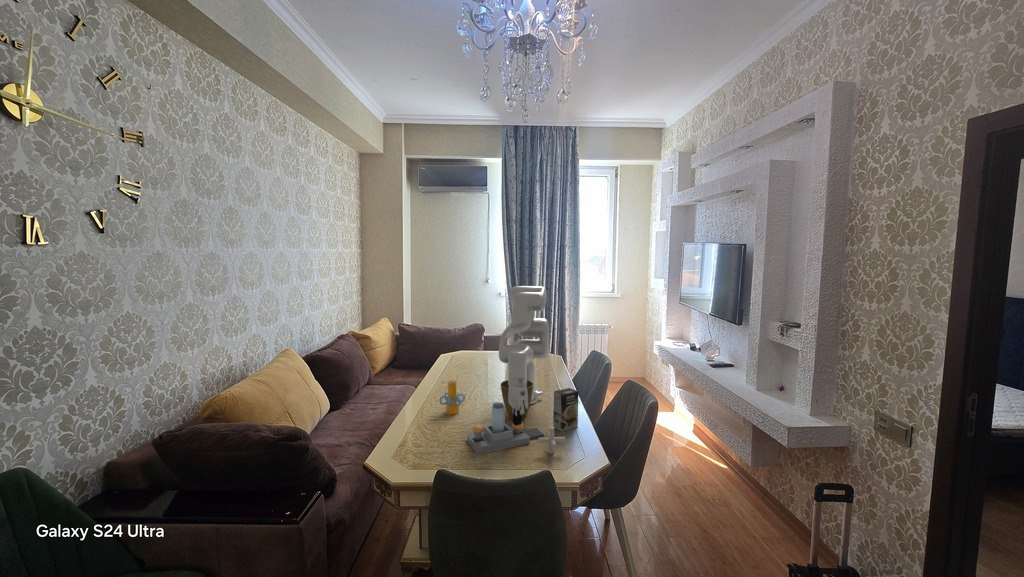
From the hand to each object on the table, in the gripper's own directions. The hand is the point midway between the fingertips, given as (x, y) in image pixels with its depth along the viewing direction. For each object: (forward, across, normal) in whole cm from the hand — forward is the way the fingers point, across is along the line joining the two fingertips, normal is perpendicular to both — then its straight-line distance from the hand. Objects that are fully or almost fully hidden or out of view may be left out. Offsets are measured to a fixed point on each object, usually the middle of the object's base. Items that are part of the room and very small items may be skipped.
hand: (517, 424), depth 178 cm
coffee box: (+6, +1, -24) cm, 24 cm away
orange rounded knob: (+3, 0, +17) cm, 17 cm away
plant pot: (+6, +19, -9) cm, 22 cm away
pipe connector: (+6, -17, -7) cm, 19 cm away
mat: (+6, 0, -7) cm, 9 cm away
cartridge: (+3, 0, +8) cm, 9 cm away
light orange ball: (+4, 0, 0) cm, 4 cm away
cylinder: (+6, +37, +16) cm, 41 cm away
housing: (+6, 0, +8) cm, 10 cm away
